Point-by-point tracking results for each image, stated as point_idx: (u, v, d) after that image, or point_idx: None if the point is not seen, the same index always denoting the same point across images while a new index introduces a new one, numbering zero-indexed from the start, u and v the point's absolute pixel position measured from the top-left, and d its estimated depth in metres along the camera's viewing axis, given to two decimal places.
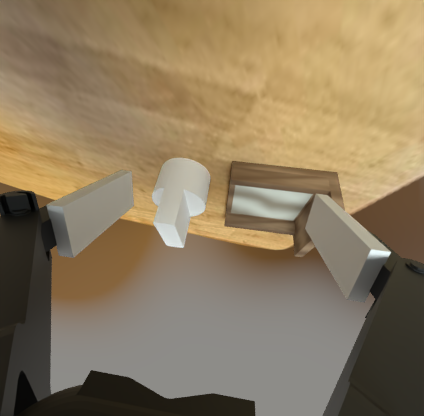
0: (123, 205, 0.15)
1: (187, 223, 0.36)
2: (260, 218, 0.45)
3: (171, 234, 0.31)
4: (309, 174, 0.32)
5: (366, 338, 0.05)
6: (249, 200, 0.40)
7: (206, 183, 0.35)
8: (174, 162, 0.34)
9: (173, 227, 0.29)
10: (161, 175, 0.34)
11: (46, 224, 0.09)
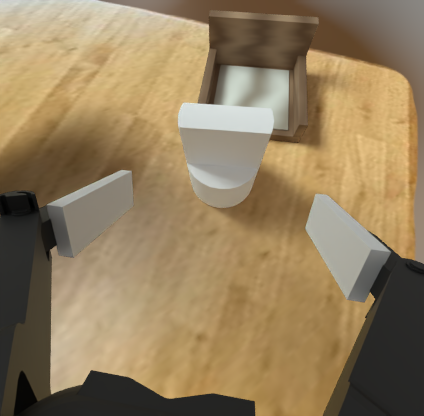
0: (123, 205, 0.15)
1: None
2: (293, 99, 0.34)
3: (216, 113, 0.20)
4: None
5: (366, 338, 0.05)
6: None
7: None
8: None
9: (190, 105, 0.20)
10: (194, 185, 0.27)
11: (46, 224, 0.09)
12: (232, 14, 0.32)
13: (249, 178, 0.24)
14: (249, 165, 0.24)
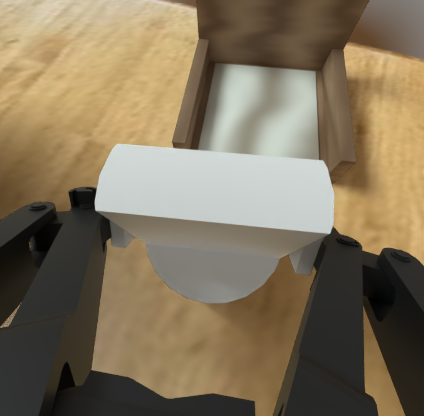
0: None
1: None
2: (324, 114, 0.23)
3: (191, 173, 0.08)
4: None
5: (310, 310, 0.06)
6: (262, 133, 0.22)
7: None
8: None
9: (131, 150, 0.09)
10: None
11: (105, 217, 0.10)
12: None
13: (263, 279, 0.12)
14: (263, 254, 0.12)
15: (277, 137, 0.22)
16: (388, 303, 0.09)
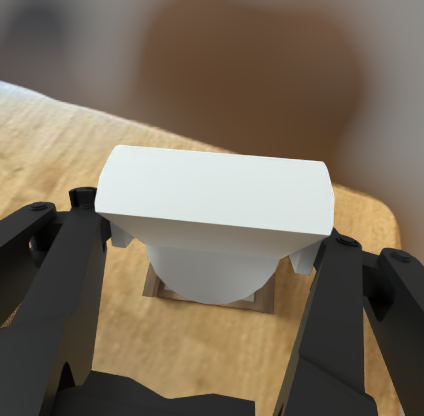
0: None
1: None
2: None
3: (191, 174, 0.08)
4: None
5: (310, 310, 0.06)
6: None
7: None
8: None
9: (131, 151, 0.09)
10: None
11: None
12: None
13: (263, 280, 0.12)
14: (263, 255, 0.12)
15: None
16: (388, 303, 0.09)
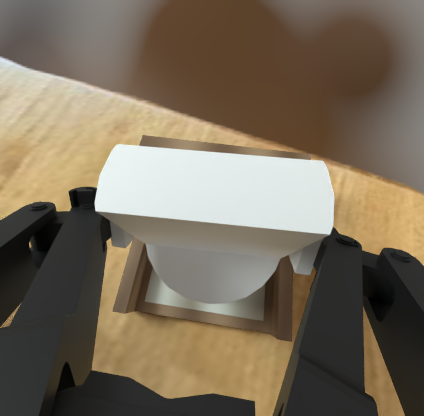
0: None
1: None
2: None
3: (191, 173, 0.08)
4: None
5: (310, 310, 0.06)
6: None
7: None
8: None
9: (131, 150, 0.09)
10: None
11: None
12: (176, 144, 0.20)
13: (263, 279, 0.12)
14: (263, 255, 0.12)
15: None
16: (388, 303, 0.09)
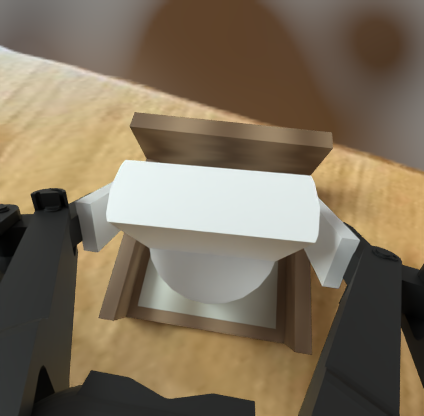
0: None
1: None
2: None
3: (192, 187, 0.09)
4: None
5: (339, 324, 0.05)
6: None
7: None
8: None
9: (138, 166, 0.10)
10: None
11: (74, 220, 0.10)
12: (173, 122, 0.17)
13: (259, 281, 0.13)
14: (259, 258, 0.13)
15: None
16: None
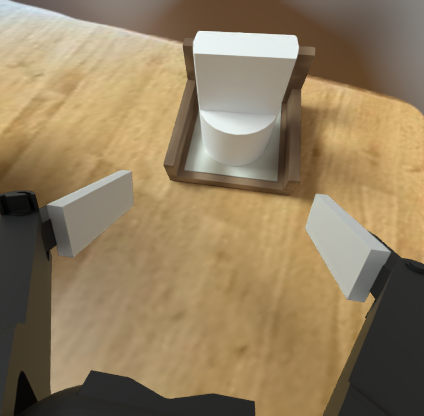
0: (123, 205, 0.15)
1: None
2: (285, 141, 0.29)
3: (234, 40, 0.18)
4: None
5: (366, 338, 0.05)
6: None
7: None
8: (202, 137, 0.28)
9: (206, 33, 0.19)
10: (206, 138, 0.26)
11: (46, 224, 0.09)
12: None
13: (267, 124, 0.22)
14: (267, 110, 0.22)
15: None
16: None
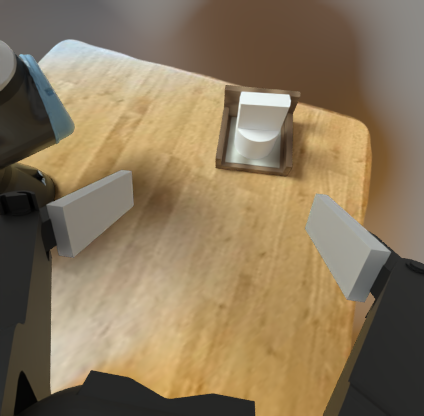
0: (123, 205, 0.15)
1: None
2: (283, 144, 0.49)
3: (260, 97, 0.38)
4: None
5: (366, 338, 0.05)
6: None
7: None
8: (235, 142, 0.48)
9: (245, 92, 0.38)
10: (239, 143, 0.45)
11: (46, 224, 0.09)
12: (241, 88, 0.46)
13: (274, 136, 0.42)
14: (274, 128, 0.42)
15: None
16: None
